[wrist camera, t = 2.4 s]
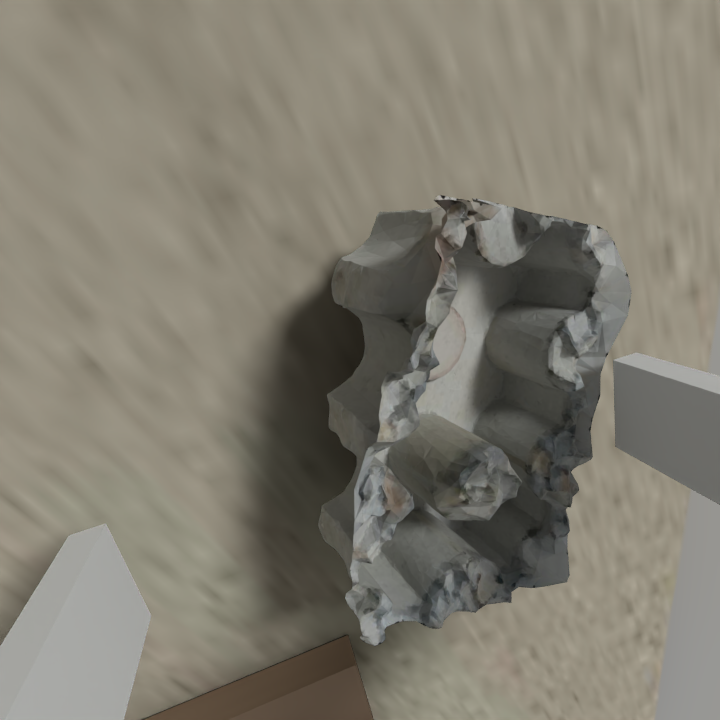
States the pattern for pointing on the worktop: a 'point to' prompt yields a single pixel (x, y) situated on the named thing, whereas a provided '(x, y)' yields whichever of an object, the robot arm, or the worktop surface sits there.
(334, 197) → the worktop surface
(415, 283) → the egg carton
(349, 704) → the walnut board
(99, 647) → the robot arm
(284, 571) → the worktop surface
